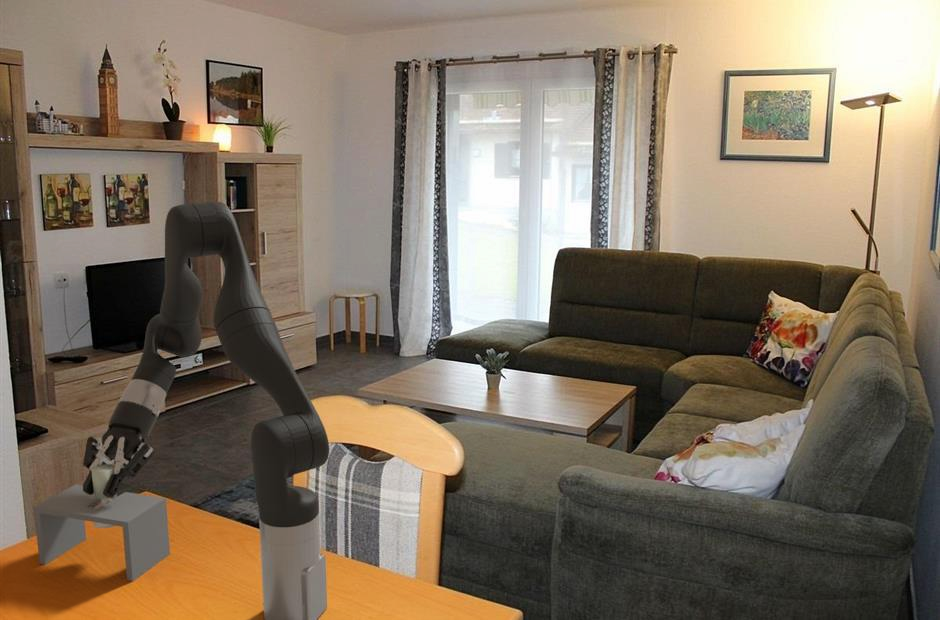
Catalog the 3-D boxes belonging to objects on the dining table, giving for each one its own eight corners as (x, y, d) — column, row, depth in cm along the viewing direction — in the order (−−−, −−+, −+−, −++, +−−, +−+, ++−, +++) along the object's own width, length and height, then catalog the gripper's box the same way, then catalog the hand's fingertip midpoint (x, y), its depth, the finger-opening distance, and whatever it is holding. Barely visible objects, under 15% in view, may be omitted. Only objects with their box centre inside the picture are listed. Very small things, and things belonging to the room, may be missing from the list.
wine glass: (129, 517, 147) (124, 464, 145) (110, 529, 142) (105, 475, 140) (106, 514, 148) (101, 461, 146) (87, 526, 143) (81, 472, 141)
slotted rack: (170, 553, 147) (165, 498, 145) (132, 581, 138) (127, 522, 135) (81, 538, 153) (76, 484, 150) (39, 563, 143) (33, 506, 141)
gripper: (96, 396, 150) (52, 481, 141) (159, 403, 146) (118, 491, 137) (118, 414, 156) (77, 497, 147) (180, 421, 152) (141, 507, 143)
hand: (97, 494), depth 142 cm, fingers closed on wine glass, 3 cm apart
